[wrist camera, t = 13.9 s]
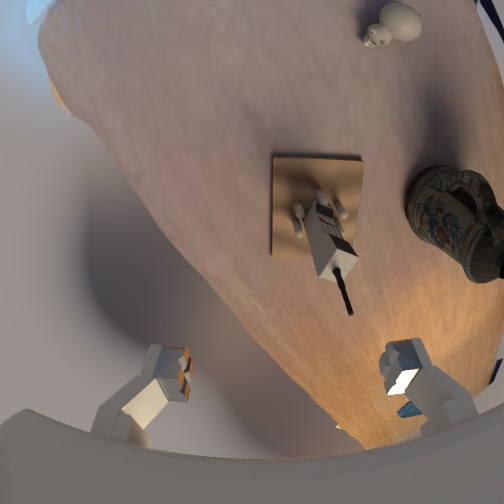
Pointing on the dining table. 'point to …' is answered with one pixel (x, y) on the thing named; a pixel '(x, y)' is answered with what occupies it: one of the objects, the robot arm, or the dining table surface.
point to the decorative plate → (408, 408)
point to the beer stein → (459, 219)
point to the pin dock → (312, 199)
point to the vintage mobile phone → (329, 247)
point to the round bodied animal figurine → (394, 25)
